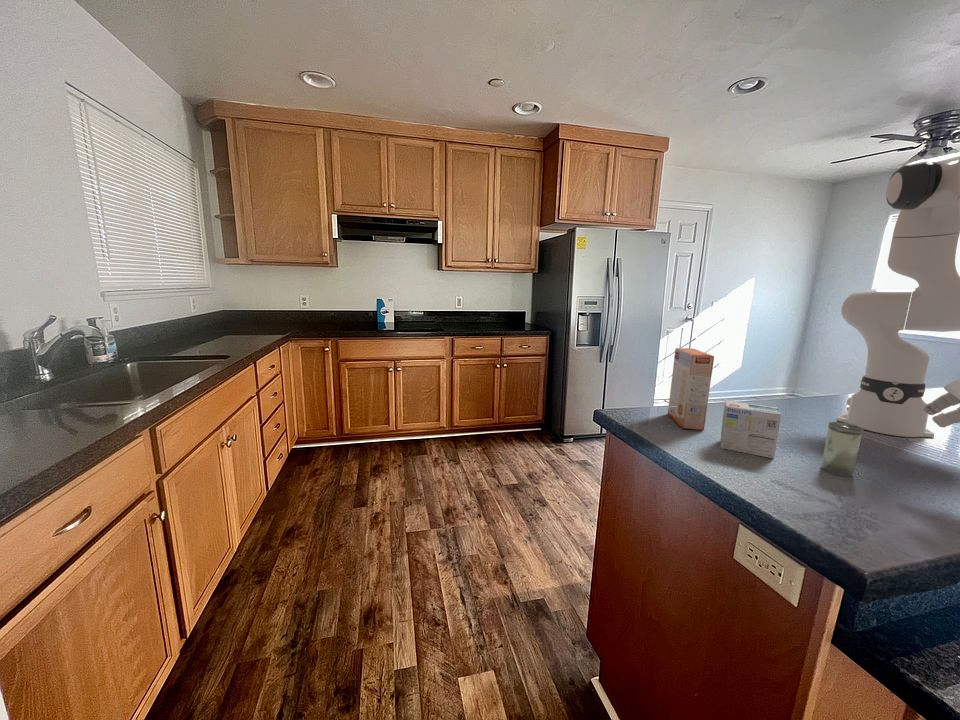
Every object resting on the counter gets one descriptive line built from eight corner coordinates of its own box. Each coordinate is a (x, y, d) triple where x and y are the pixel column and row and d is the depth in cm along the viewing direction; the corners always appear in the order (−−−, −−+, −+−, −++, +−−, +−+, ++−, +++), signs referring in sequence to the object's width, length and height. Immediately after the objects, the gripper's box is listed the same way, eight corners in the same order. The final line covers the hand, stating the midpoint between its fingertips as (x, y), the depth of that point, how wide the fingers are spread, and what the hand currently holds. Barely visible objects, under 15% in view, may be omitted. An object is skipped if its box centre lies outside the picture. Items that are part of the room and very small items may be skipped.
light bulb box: (771, 449, 89) (778, 406, 88) (775, 459, 84) (782, 414, 82) (719, 439, 95) (724, 399, 93) (719, 448, 89) (725, 405, 88)
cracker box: (705, 431, 101) (715, 355, 97) (681, 429, 102) (690, 354, 98) (688, 415, 114) (696, 348, 111) (666, 413, 115) (674, 347, 112)
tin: (820, 463, 82) (828, 420, 81) (853, 471, 79) (862, 426, 77) (820, 471, 79) (828, 426, 77) (854, 479, 75) (864, 432, 73)
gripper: (996, 352, 69) (906, 393, 78) (1042, 366, 55) (925, 414, 63) (1030, 379, 67) (934, 418, 76) (1088, 402, 52) (960, 447, 61)
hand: (930, 417), depth 69 cm, fingers open, 8 cm apart
